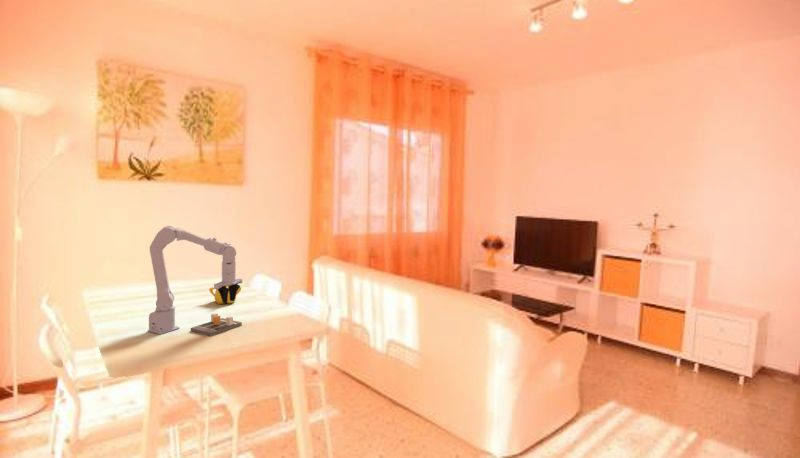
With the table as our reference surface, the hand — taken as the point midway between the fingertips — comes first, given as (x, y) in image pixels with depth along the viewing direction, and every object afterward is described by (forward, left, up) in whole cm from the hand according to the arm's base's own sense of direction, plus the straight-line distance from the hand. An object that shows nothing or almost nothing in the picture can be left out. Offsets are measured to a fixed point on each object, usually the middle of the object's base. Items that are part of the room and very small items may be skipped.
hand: (228, 301), depth 198 cm
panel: (-6, 0, -10) cm, 12 cm away
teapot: (+26, +30, -11) cm, 41 cm away
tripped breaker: (-6, 0, -9) cm, 11 cm away
